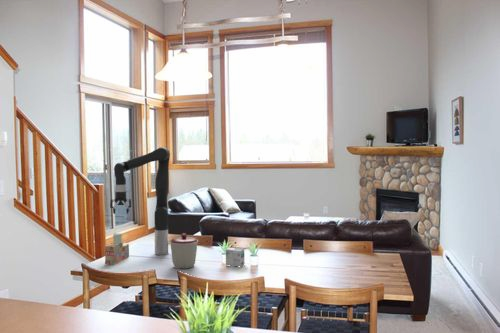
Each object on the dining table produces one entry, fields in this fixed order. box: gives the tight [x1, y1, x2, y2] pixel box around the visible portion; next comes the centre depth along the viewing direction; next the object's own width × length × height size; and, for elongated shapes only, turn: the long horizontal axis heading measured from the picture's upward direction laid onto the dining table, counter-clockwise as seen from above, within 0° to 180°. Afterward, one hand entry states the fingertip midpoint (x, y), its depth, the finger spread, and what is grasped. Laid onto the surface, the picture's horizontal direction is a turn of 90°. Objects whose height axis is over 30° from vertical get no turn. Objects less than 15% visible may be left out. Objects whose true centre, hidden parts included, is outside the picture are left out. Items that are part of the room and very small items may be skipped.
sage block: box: [112, 232, 123, 244], centre depth 282 cm, size 5×5×6 cm
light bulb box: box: [225, 247, 246, 268], centre depth 273 cm, size 11×7×11 cm, turn 71°
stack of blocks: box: [104, 241, 130, 266], centre depth 284 cm, size 21×6×12 cm, turn 170°
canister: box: [168, 232, 199, 270], centre depth 269 cm, size 18×18×21 cm
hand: (120, 213), depth 304 cm, fingers open, 8 cm apart
